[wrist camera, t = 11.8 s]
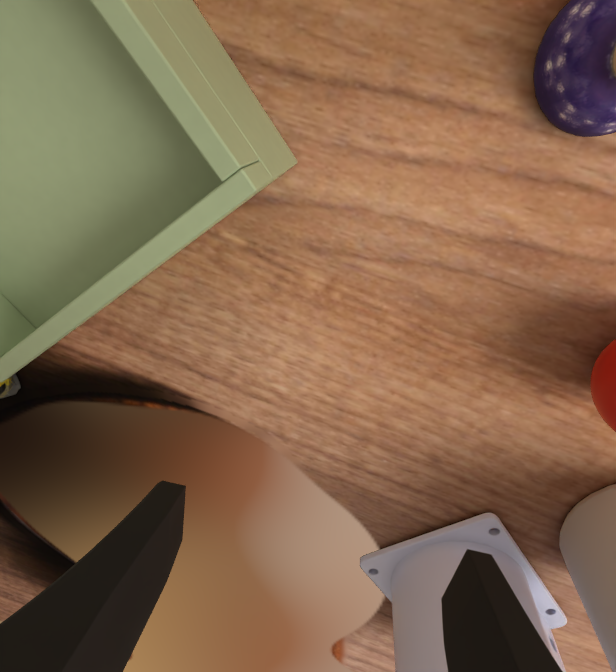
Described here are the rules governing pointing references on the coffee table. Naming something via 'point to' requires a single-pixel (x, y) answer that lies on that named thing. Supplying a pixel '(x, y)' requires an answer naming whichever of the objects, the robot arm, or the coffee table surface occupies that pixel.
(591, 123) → the toy lamp
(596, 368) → the ball
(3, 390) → the race car
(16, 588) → the coffee table surface
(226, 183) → the open box
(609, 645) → the cup
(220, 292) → the coffee table surface
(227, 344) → the coffee table surface
